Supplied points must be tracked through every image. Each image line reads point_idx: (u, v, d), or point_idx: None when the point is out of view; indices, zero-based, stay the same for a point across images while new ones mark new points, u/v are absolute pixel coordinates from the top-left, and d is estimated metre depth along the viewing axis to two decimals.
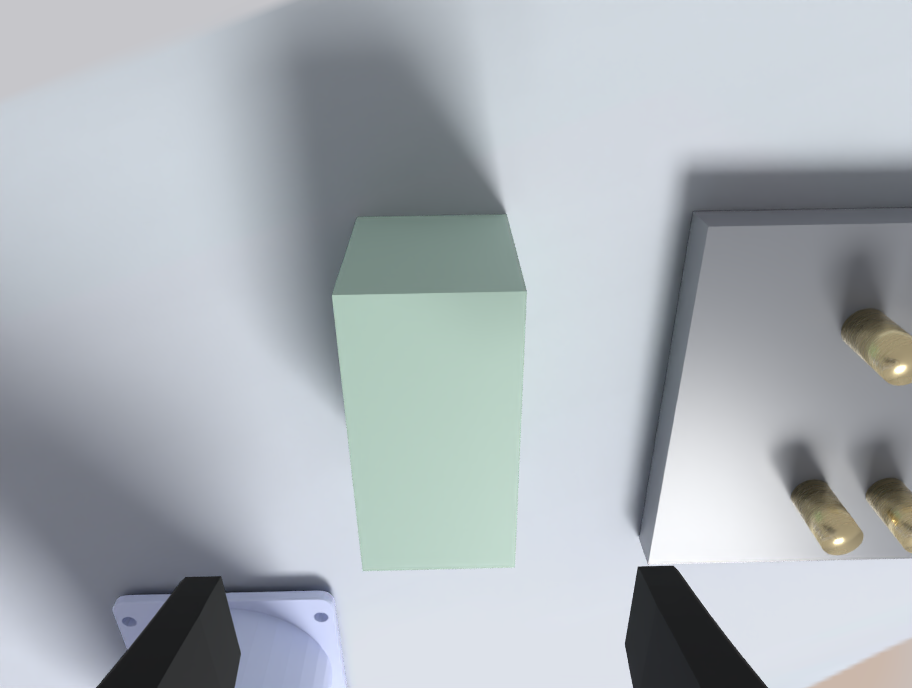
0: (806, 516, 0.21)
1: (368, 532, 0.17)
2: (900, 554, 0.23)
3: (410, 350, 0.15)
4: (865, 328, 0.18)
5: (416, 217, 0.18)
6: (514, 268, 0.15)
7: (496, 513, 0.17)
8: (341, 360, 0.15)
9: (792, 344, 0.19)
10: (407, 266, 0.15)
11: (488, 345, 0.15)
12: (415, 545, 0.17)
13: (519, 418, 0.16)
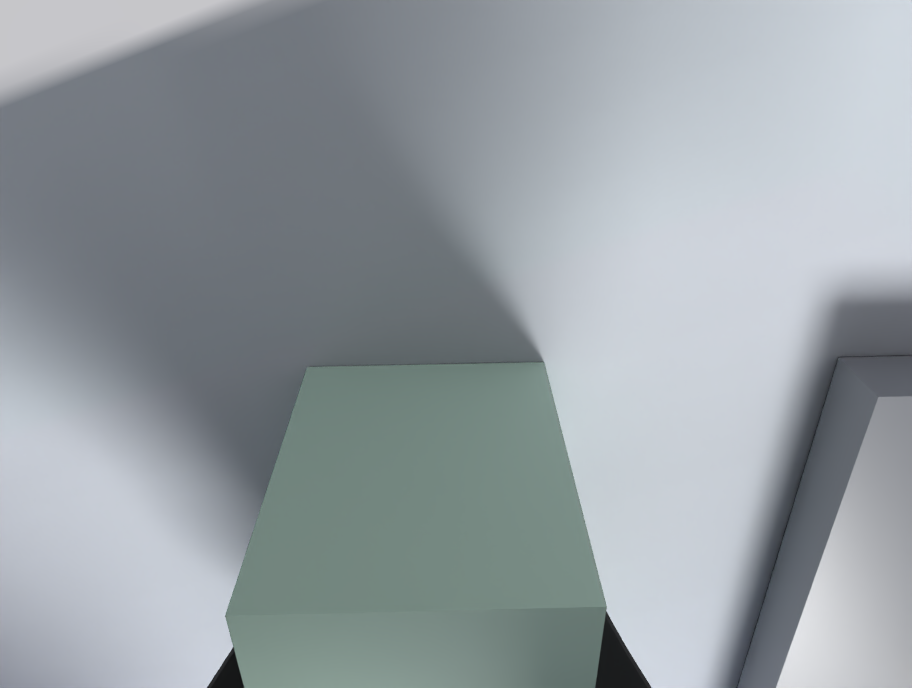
0: None
1: None
2: None
3: None
4: None
5: (400, 373, 0.11)
6: (573, 524, 0.08)
7: None
8: None
9: None
10: (378, 515, 0.08)
11: (528, 684, 0.08)
12: None
13: None
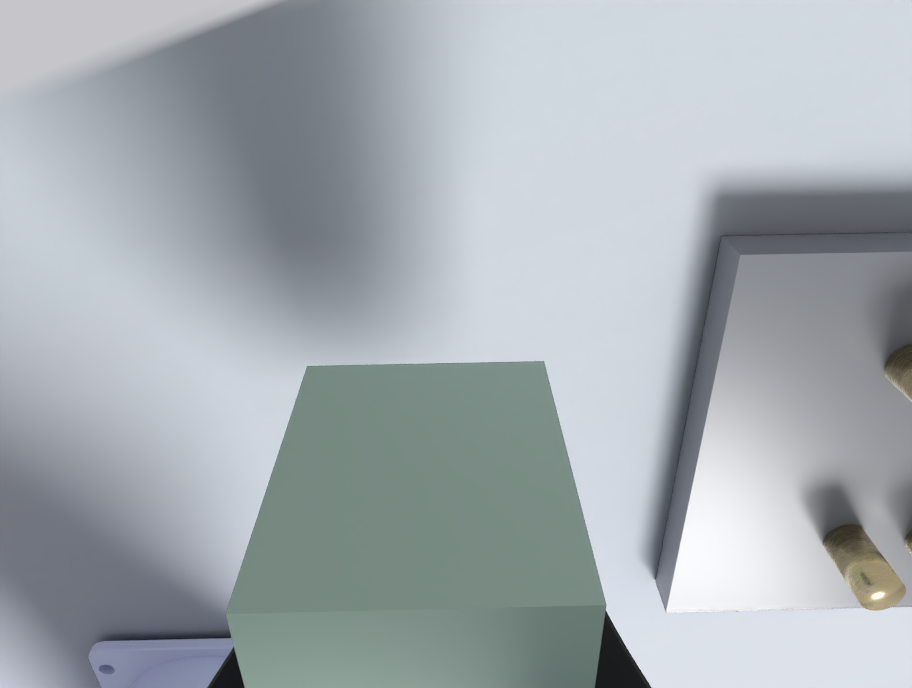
0: (841, 566, 0.19)
1: None
2: None
3: None
4: None
5: (400, 372, 0.11)
6: (573, 522, 0.08)
7: None
8: None
9: (830, 382, 0.17)
10: (379, 514, 0.08)
11: (528, 683, 0.08)
12: None
13: None
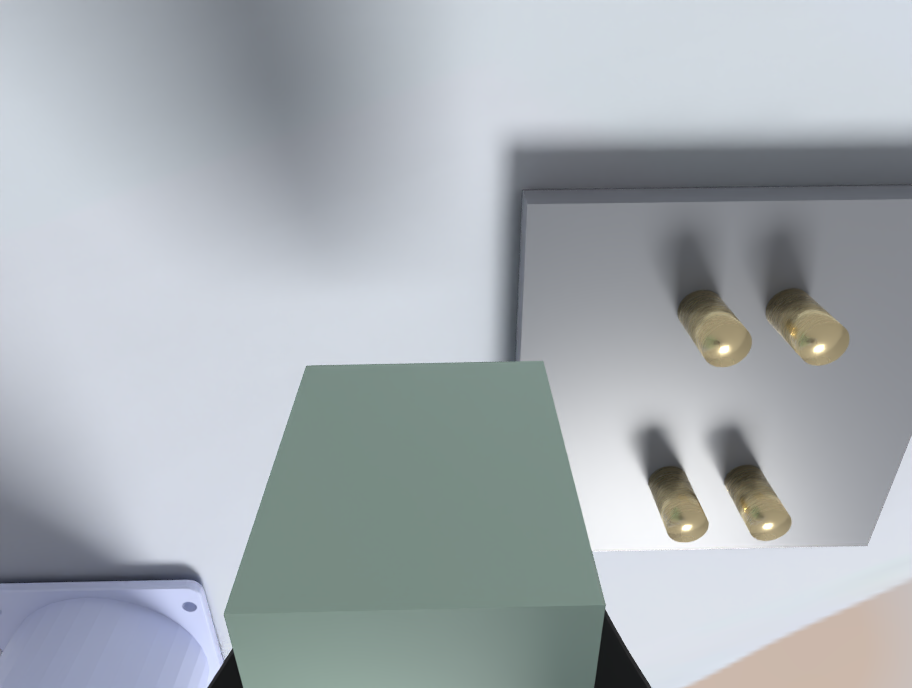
0: (657, 503, 0.20)
1: None
2: (767, 543, 0.23)
3: None
4: (694, 309, 0.18)
5: (400, 372, 0.11)
6: (573, 522, 0.08)
7: None
8: None
9: (629, 326, 0.19)
10: (378, 513, 0.08)
11: (527, 682, 0.08)
12: None
13: None
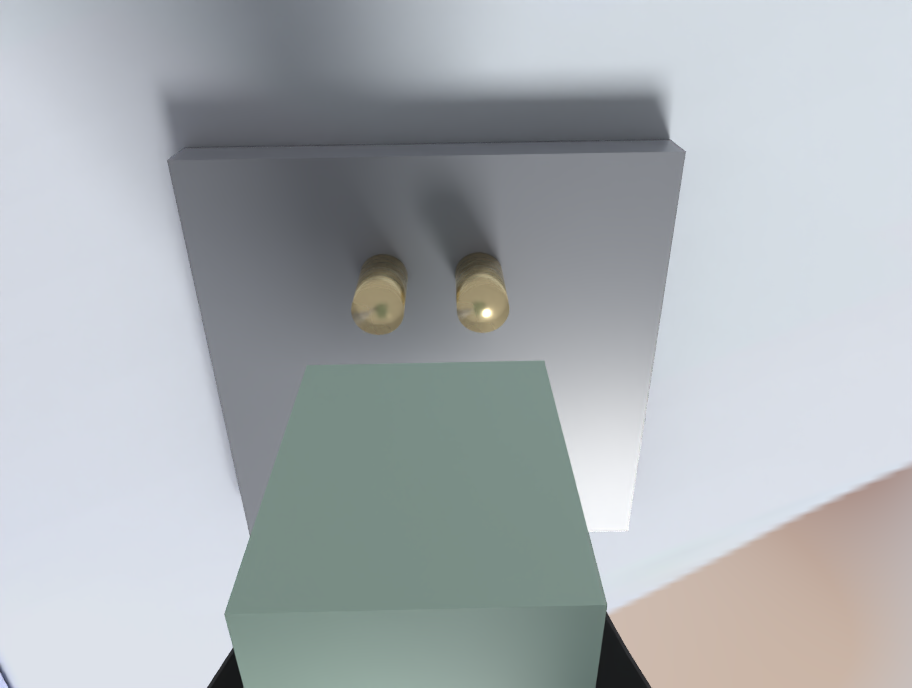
0: None
1: None
2: None
3: None
4: (361, 274, 0.16)
5: (400, 371, 0.11)
6: (574, 522, 0.08)
7: None
8: None
9: (312, 295, 0.17)
10: (378, 513, 0.08)
11: (528, 682, 0.08)
12: None
13: None
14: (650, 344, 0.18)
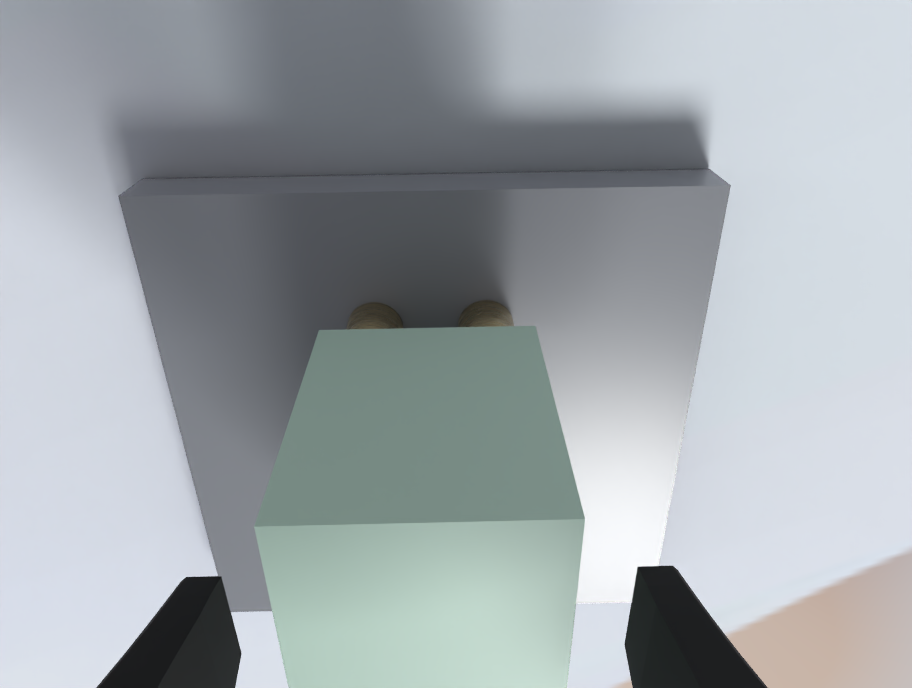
0: None
1: None
2: None
3: (389, 600, 0.09)
4: (349, 327, 0.14)
5: (404, 335, 0.12)
6: (558, 456, 0.09)
7: None
8: (276, 613, 0.09)
9: (292, 348, 0.15)
10: (386, 449, 0.09)
11: (518, 593, 0.09)
12: None
13: (564, 684, 0.10)
14: (682, 402, 0.16)
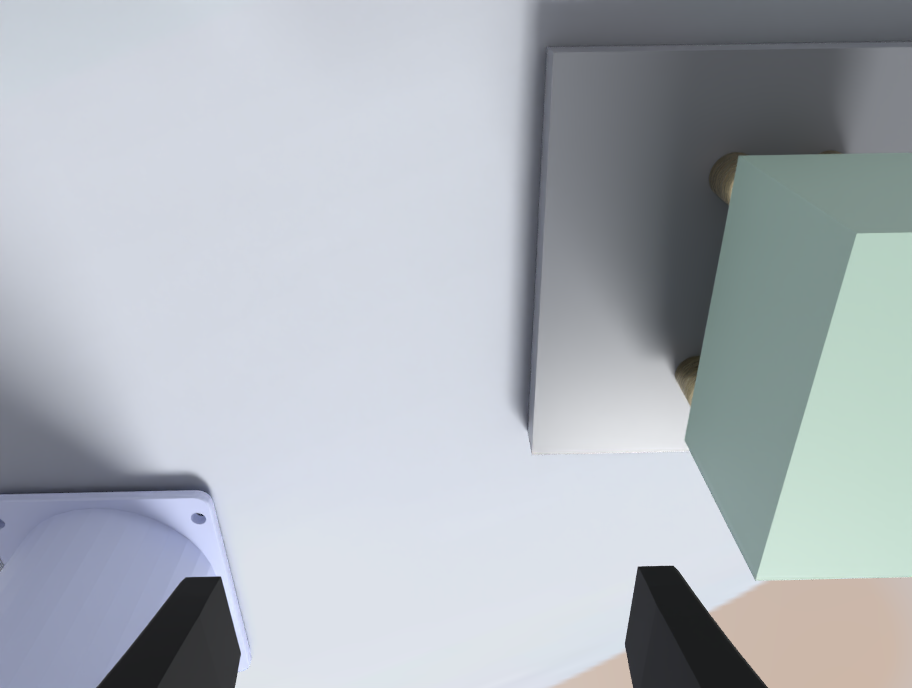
0: (685, 391, 0.20)
1: (780, 534, 0.14)
2: None
3: None
4: (728, 168, 0.17)
5: (814, 157, 0.15)
6: None
7: None
8: (834, 319, 0.12)
9: (658, 194, 0.18)
10: (897, 204, 0.12)
11: None
12: (830, 550, 0.14)
13: None
14: None
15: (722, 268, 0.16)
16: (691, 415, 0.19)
